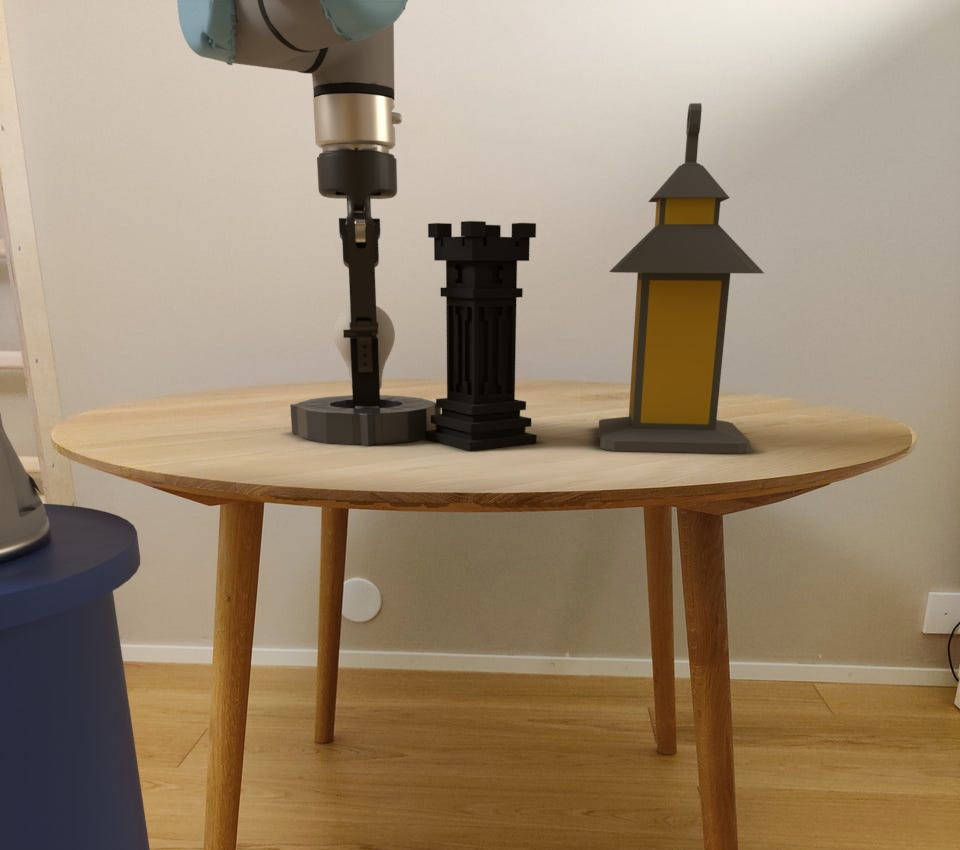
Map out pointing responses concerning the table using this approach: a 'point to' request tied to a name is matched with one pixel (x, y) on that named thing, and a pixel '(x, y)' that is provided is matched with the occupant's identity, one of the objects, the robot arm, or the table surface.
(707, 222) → the lantern
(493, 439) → the chess piece
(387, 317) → the lightbulb
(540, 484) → the table surface
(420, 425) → the hole plate
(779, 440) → the table surface
